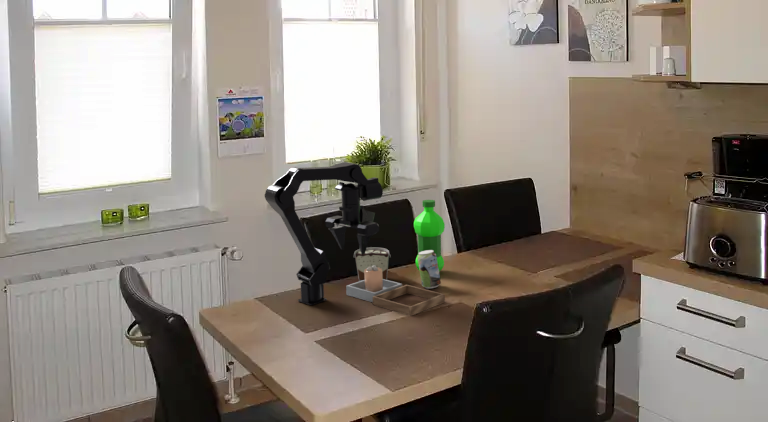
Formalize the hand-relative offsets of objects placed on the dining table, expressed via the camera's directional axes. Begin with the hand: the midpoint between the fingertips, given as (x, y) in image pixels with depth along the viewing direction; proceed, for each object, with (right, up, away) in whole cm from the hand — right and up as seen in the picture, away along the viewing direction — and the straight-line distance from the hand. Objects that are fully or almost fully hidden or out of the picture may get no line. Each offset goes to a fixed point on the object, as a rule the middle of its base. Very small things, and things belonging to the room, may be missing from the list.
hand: (352, 251), depth 251 cm
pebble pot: (+7, -12, -1) cm, 14 cm away
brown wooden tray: (+17, -15, -10) cm, 25 cm away
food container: (+6, -10, +16) cm, 20 cm away
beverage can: (+24, -12, +5) cm, 27 cm away
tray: (+7, -13, -1) cm, 15 cm away
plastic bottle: (+25, -9, +20) cm, 33 cm away
